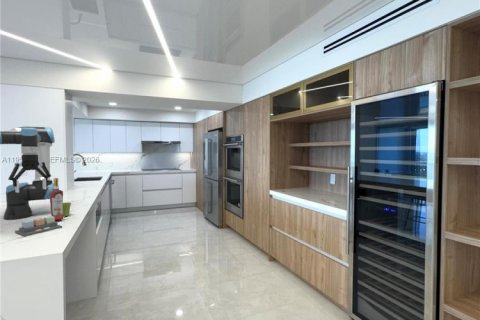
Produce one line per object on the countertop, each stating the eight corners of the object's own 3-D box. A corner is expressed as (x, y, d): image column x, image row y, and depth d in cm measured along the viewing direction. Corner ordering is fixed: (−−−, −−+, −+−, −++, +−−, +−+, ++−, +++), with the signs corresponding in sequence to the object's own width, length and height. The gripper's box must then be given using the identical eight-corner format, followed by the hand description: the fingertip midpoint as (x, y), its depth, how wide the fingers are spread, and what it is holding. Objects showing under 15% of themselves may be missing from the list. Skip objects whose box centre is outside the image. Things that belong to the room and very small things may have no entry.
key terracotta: (33, 225, 147) (33, 219, 147) (41, 223, 150) (41, 218, 150) (36, 226, 145) (36, 220, 145) (44, 224, 148) (44, 218, 148)
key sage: (43, 222, 151) (43, 217, 151) (51, 221, 155) (51, 216, 154) (46, 223, 149) (46, 218, 149) (54, 222, 153) (54, 216, 152)
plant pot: (54, 218, 172) (53, 205, 172) (56, 215, 181) (56, 203, 180) (70, 216, 177) (70, 204, 176) (72, 213, 185) (72, 201, 185)
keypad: (14, 232, 143) (14, 227, 143) (51, 224, 159) (51, 219, 158) (24, 236, 137) (24, 231, 136) (62, 227, 152) (61, 222, 152)
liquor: (53, 222, 162) (51, 179, 161) (48, 221, 166) (46, 178, 165) (66, 220, 168) (64, 177, 167) (60, 218, 172) (59, 177, 171)
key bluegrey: (21, 227, 142) (21, 221, 142) (30, 225, 146) (30, 220, 146) (25, 228, 140) (24, 222, 140) (33, 226, 144) (33, 221, 144)
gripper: (5, 154, 136) (6, 194, 137) (56, 153, 158) (58, 188, 158) (-1, 154, 140) (1, 193, 141) (50, 153, 161) (52, 187, 162)
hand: (31, 190), depth 150 cm, fingers open, 12 cm apart
